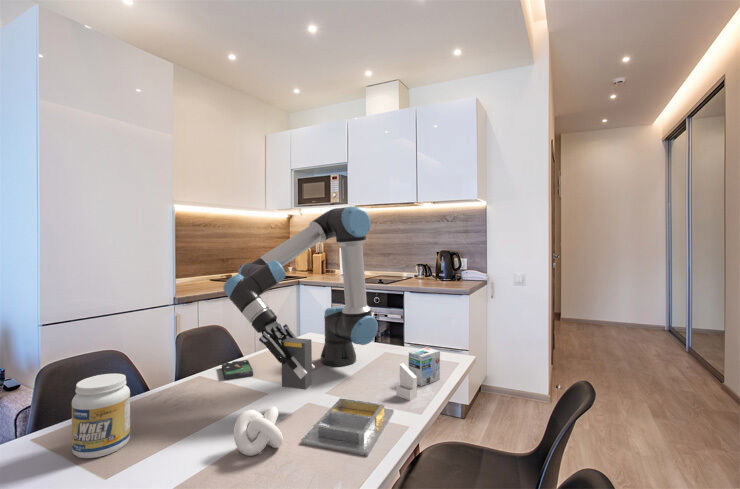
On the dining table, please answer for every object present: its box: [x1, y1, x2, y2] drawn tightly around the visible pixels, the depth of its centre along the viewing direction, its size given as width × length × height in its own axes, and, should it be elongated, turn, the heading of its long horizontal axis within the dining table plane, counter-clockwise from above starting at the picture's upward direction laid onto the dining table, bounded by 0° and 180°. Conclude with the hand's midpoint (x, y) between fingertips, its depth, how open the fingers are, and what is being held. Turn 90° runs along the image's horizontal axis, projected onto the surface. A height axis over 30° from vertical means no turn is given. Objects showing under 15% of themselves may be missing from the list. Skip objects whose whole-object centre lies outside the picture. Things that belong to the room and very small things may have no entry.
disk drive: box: [221, 359, 254, 381], centre depth 151 cm, size 10×3×15 cm
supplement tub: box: [71, 372, 131, 459], centre depth 97 cm, size 12×12×17 cm
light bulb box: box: [408, 346, 441, 387], centre depth 141 cm, size 11×7×11 cm, turn 131°
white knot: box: [233, 406, 284, 457], centre depth 97 cm, size 11×12×9 cm
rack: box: [300, 397, 395, 457], centre depth 107 cm, size 24×18×4 cm
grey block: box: [281, 337, 313, 390], centre depth 118 cm, size 4×8×14 cm, turn 72°
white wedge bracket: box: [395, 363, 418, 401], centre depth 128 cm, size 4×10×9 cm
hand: (307, 372), depth 117 cm, fingers closed on grey block, 4 cm apart
